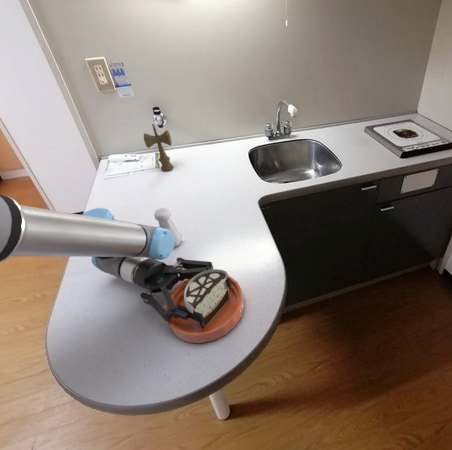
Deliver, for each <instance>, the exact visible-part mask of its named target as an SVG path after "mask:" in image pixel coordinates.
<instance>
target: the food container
mask: <svg viewBox="0 0 452 450" xmlns="http://www.w3.org/2000/svg"><path fill="white" fill-rule="evenodd" d="M227 276H230V275H229V273H228V271H226V270H223V269H217V268H213V269H212V270H207V271H204V272H201V273H199V274H197V275H196V276H194V277H193V278H192V279H191V280H190V281H189V283H188V284H187V286H186V288H185V292H184V303H185V306H186V308H187V309H188V310H189V311H190V312H191V313H193V311H194V312H195V313H196V312H199V313H201V314H202V315H203V318H204V320H205V321H204V323H203V324H202V323H200V322H199V323H200V324H201V325H202V326H203V327H204V328H205V327H206V326H207V325H208V324H209V323H210V322H211V321H212V319H213V318H214V317H215V316H216V315H217V314H218V313H219V311H220V310H221V309H222V308H223V307H224V306H225V305H226V303H227V302H228V301H229V300H230V296H229V289H228V286H227V284H226V279H227Z"/></svg>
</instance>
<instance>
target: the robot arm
mask: <svg viewBox="0 0 452 450" xmlns="http://www.w3.org/2000/svg"><path fill="white" fill-rule="evenodd" d="M174 242H175V240H174V235H173V233H172V232H171V231H170V230H168V229H164V228H161V227H160V226H152V225H147V224H140V223H135V222H130V221H125V220H124V221H123V220H119V219H116V218H115V215H113V214H112V213H111V211H110V210H109V209H108V208H104V207H96V208H92V209H88V210H87V211H85V212H83V213H82V214H77V213H71V212H66V211H60V210H55V209H54V210H53V209H47V208H40V207H34V206H29V205H22V204H19V203H18V201H16V200H15V199H14V198H13V197H11V196H8V195H4V194H0V263H2V262H5V261H6V260H8V259H9V258H10V257H60V258H61V257H63V258H64V257H67V258H69V257H70V258H71V257H75V258H76V257H77V258H78V257H80V258H81V257H83V258H84V257H85V258H88V257H91V263H92V265H93V266H94V267H95V268H96V269H98V270H100V271H101V272H103V273H106V274H109V275H112V276H114V277H116V278H119V279H121V280H124V281H126V282H128V283H130V284H133V285H134V286H135V285H136V286H138V287H140V288H142V289H145V290H146V292H141V293H140V294H139V297H140V298H141V300H142V302H143V303H144V304H147V305H149V306H150V307H151V308H152V309H153V310H154V311H155V312H156V313H157V314H158V315H159V316H160V317H161V318H162V319H163V320H164V322H166V323H168V322H169V321H170V320H171V318H172V317H174V318H178V317H179V318H181V319H184V320H188V319H189V318H191V319H193V320H196V321H198V322H200V323H202V324H203V323H204V321H205V320H204V318H203V315H202V314H201V313H199V312H196V313H195V312H194V311H193V313H191V312H190V311H189V310H188V309H187V308H186V307H184V306H182V305H180V304H179V305H178V306H177V308H176V307H175V305H174V303H173V301H172V298H171V296H170V295H171V293H169V291H171V290H173V288H174V286H176V285H177V284H178V283H179V282H184V281H186V280H187V279H192V278H193V277H194V276H196V275H197V274H199V273H201V272H204V271H207V270H212V269H214V265H213V262H212V261H206V260H196V259H195V260H193V259H186V258H183V257H181V256H180V257H177V258H176V262H175V263H174V264H167V263H165V262H163V261H162V260H165V259H167V258H168V257H169V256H170V255H171V254H172V252H173V251H174V248H175V247H174ZM226 284H227V286H228V287H229V288H230V287H231V282H230V279H229V278H227V279H226ZM159 293H162V295H163V297H164V299H165V302H166V303H167V304H168V306H169V308H170V310H168V311H166V310H165V309H166V308H164V306H162V305H161V303H160V302H159V301H158V300H157V299H156V298H155V297H154V296H155V295H154V294H159Z"/></svg>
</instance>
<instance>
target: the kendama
mask: <svg viewBox="0 0 452 450" xmlns="http://www.w3.org/2000/svg"><path fill="white" fill-rule="evenodd" d="M151 125H152V129H153V132H154V135H151V134H149V133H145V132H144V134H143V141H144V144H145V146H146V148H148V149H149V148H151V147H152V146H154V145H155V144H157V148H158V153H159V158H158V162H160V164H161V166H160V170H161V171H162V172H168V171H171V170H173V169H174V164H172V163H171V161H170V160H171V157H170V156H168V154H167V153H166V151H165V149H164V147H163V145H162V143H163V144H165V145H168V146H172V145H173V144H172V136H171V133H170V132H169V130H168V129H166V130H165V131H164V132H162V133H161V134H159V135H158V132H157V128H156V126H155V124H154V123H152V124H151Z"/></svg>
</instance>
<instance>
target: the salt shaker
mask: <svg viewBox="0 0 452 450" xmlns="http://www.w3.org/2000/svg"><path fill="white" fill-rule="evenodd" d="M153 217H154V218H155V220H156V221H158V227H161V228H164V229H168V230H170V231H171V232H172V233H173V235H174V240H175V242H174V248H177V247H179V246H180V244H181V242H182V239H183V238H182V234H181V232H180V231H179V229H178V228H177V227H176V225H175V223H174V222H173V220H172V219H171V217H172V215H171V211H170V210H169V209H168V208H166V207H160V208H157V209H156V210H155V211H154V213H153Z"/></svg>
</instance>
